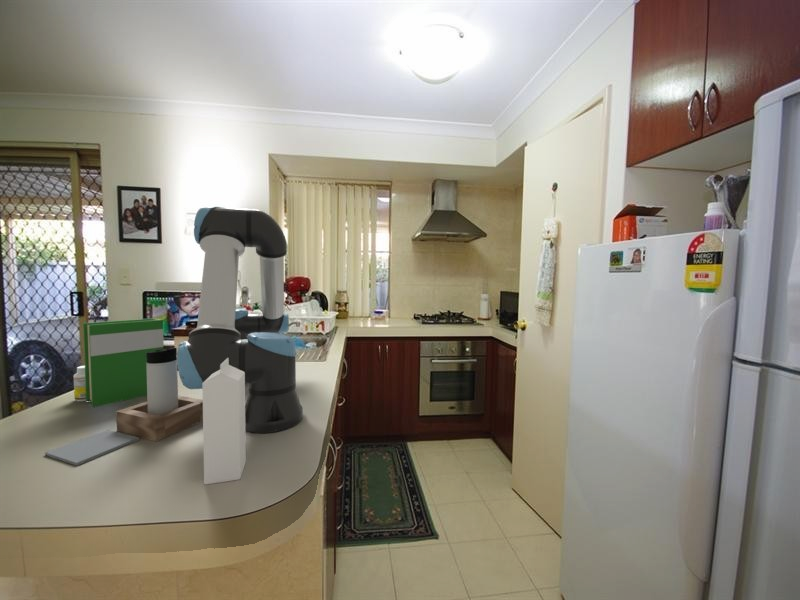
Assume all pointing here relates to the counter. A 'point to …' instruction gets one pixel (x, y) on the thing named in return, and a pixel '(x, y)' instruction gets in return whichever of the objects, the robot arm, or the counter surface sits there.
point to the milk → (224, 424)
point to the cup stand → (159, 419)
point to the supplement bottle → (80, 384)
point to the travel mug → (162, 381)
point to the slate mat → (91, 447)
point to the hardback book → (119, 358)
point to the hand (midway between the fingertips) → (180, 374)
